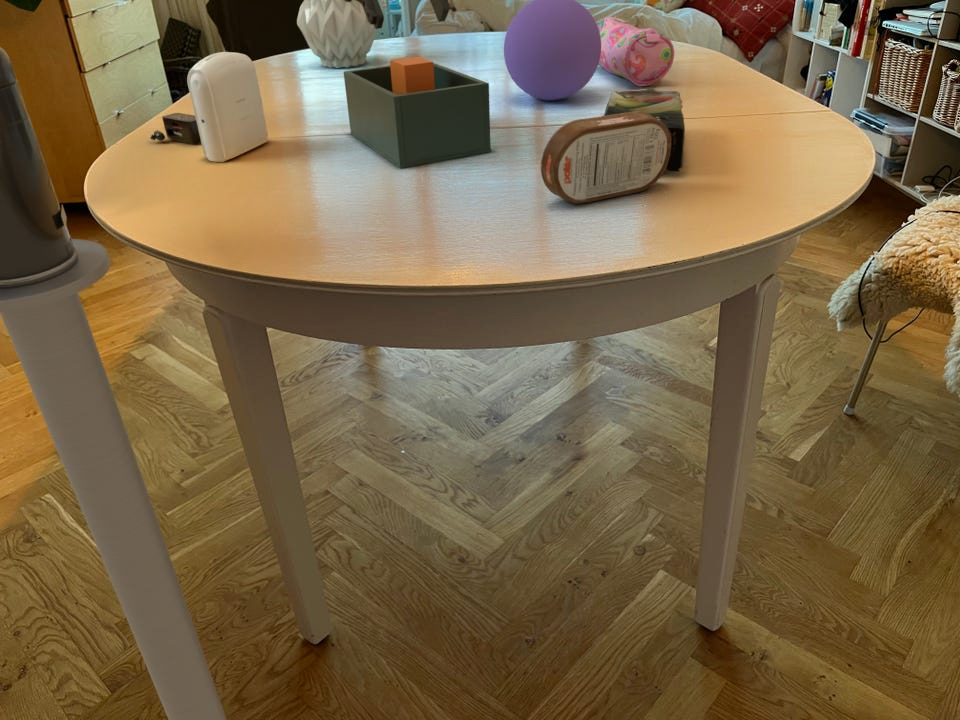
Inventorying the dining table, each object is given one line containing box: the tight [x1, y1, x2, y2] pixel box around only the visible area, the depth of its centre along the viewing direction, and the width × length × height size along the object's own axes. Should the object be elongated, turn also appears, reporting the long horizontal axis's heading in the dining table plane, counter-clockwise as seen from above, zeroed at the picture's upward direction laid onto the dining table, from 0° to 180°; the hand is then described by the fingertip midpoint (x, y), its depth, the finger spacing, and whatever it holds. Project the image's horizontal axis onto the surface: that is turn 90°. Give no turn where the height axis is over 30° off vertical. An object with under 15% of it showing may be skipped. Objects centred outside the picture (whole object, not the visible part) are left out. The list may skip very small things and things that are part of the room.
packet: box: [389, 55, 435, 95], centre depth 100 cm, size 4×5×10 cm
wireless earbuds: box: [150, 112, 202, 145], centre depth 106 cm, size 5×7×3 cm, turn 56°
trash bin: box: [343, 62, 492, 169], centre depth 100 cm, size 13×19×8 cm
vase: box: [296, 0, 378, 69], centre depth 148 cm, size 16×16×18 cm
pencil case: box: [597, 15, 675, 87], centre depth 132 cm, size 21×9×9 cm, turn 11°
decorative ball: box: [503, 0, 601, 101], centre depth 117 cm, size 15×15×15 cm
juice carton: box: [603, 88, 686, 172], centre depth 94 cm, size 20×10×6 cm, turn 169°
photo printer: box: [186, 51, 269, 163], centre depth 99 cm, size 10×4×12 cm, turn 158°
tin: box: [540, 111, 672, 205], centre depth 80 cm, size 15×3×8 cm, turn 115°
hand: (412, 20), depth 93 cm, fingers open, 8 cm apart
